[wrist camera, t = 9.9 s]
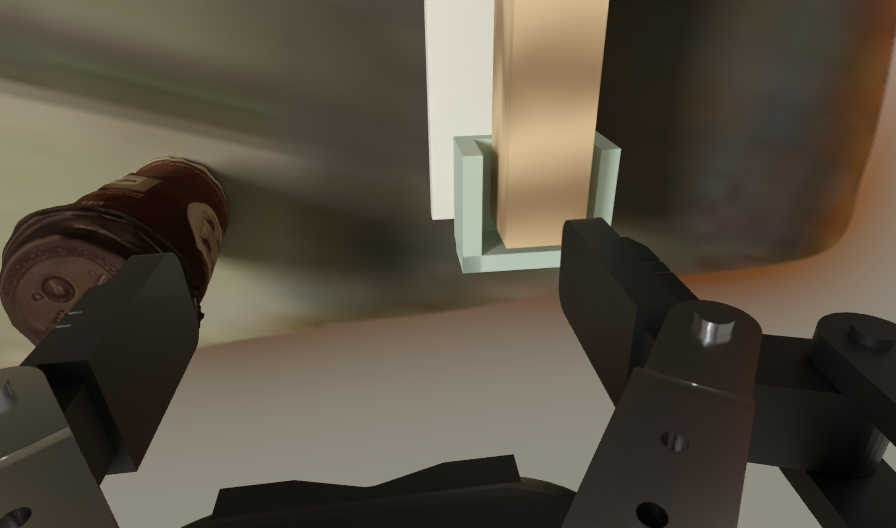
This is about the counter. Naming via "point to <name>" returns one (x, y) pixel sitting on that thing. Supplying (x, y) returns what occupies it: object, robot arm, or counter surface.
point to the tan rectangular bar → (543, 115)
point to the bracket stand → (482, 140)
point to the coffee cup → (112, 241)
